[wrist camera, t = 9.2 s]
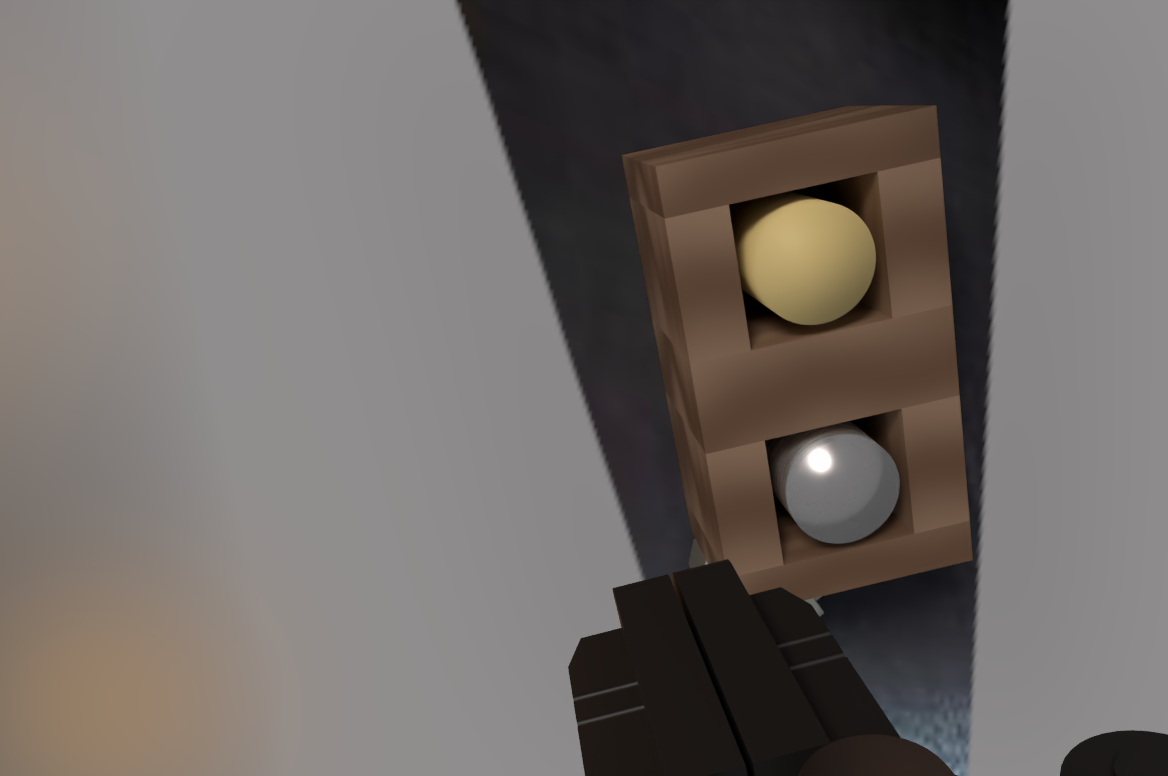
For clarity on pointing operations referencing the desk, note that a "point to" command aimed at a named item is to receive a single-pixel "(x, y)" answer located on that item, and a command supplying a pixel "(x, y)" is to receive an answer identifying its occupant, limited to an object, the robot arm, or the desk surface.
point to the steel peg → (833, 481)
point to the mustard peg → (802, 256)
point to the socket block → (807, 342)
